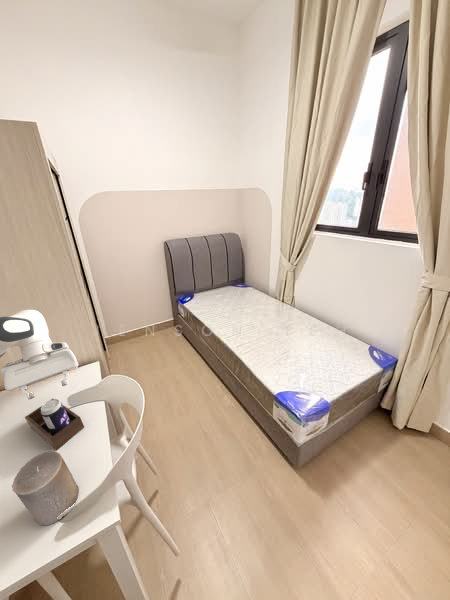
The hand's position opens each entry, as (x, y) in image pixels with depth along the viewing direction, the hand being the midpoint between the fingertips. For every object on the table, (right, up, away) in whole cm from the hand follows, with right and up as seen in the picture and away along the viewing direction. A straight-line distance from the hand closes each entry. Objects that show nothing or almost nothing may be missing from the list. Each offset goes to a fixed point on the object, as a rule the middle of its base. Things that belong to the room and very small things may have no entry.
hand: (48, 391), depth 79 cm
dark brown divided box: (+1, -14, +3) cm, 14 cm away
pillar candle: (+15, -22, -17) cm, 32 cm away
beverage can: (+4, -14, +1) cm, 14 cm away
